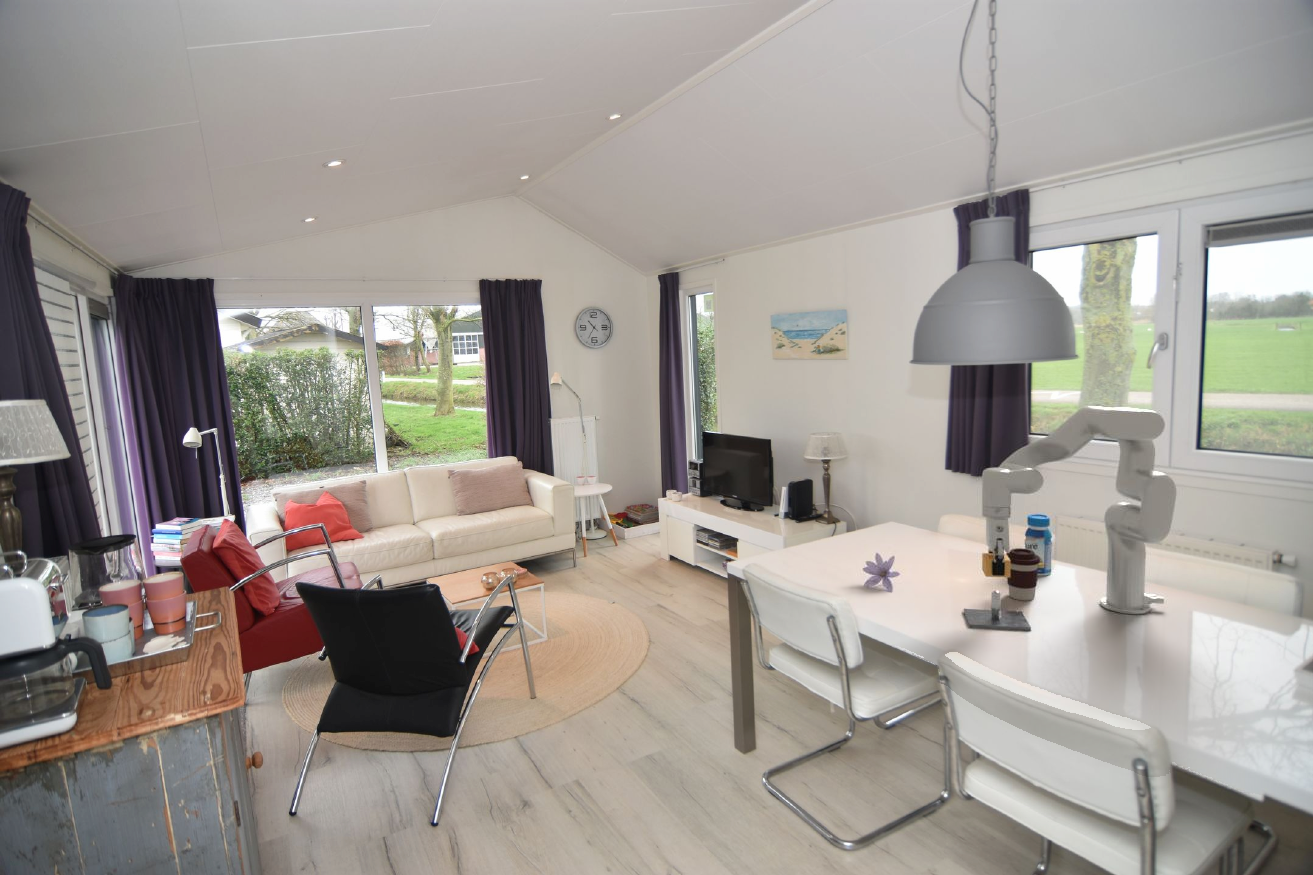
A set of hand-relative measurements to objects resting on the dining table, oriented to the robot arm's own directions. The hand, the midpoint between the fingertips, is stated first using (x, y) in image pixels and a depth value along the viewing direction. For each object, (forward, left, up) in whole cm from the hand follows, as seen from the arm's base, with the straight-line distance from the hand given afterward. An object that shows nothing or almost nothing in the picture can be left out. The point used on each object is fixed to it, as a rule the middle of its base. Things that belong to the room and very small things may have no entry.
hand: (996, 570), depth 205 cm
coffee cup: (-11, -21, -16) cm, 28 cm away
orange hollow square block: (0, 0, -1) cm, 1 cm away
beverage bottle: (-21, -46, -16) cm, 53 cm away
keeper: (0, 0, -15) cm, 15 cm away
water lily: (+32, -26, -16) cm, 44 cm away
